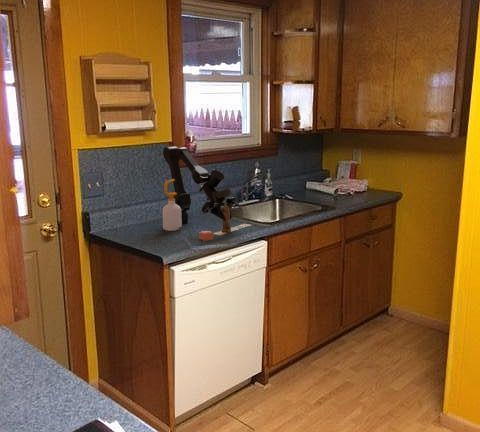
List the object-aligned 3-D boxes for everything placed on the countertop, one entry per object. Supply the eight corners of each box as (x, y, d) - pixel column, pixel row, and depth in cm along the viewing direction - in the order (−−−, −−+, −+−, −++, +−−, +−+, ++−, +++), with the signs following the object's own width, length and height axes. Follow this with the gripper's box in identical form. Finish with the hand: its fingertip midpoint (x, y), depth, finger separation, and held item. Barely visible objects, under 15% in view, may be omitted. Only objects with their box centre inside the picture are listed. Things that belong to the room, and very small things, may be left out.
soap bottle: (183, 230, 255) (182, 180, 249) (165, 231, 251) (163, 181, 246) (179, 225, 263) (177, 177, 257) (161, 227, 260) (159, 178, 254)
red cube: (204, 243, 231) (204, 234, 230) (199, 241, 234) (199, 231, 233) (213, 242, 233) (213, 232, 232) (207, 240, 237) (207, 230, 236)
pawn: (222, 232, 244) (222, 206, 242) (220, 230, 248) (220, 204, 246) (231, 231, 245) (231, 206, 243) (229, 229, 250) (229, 204, 247)
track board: (224, 239, 238) (224, 236, 237) (206, 235, 244) (206, 232, 244) (257, 228, 258) (257, 225, 258) (240, 225, 264) (240, 222, 264)
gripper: (205, 185, 238) (222, 212, 233) (233, 180, 251) (250, 206, 246) (194, 199, 245) (210, 226, 240) (222, 194, 258) (238, 219, 253)
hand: (228, 219), depth 245 cm, fingers closed on pawn, 4 cm apart
